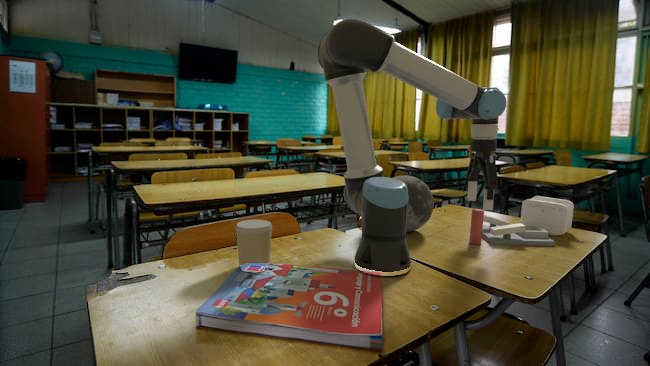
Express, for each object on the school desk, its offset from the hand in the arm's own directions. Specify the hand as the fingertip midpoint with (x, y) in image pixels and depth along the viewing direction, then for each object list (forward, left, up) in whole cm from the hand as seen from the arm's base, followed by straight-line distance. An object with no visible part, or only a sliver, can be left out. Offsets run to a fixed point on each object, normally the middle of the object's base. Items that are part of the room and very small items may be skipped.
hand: (479, 205), depth 122 cm
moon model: (-21, +13, -13) cm, 28 cm away
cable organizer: (+32, +17, -13) cm, 38 cm away
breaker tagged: (+11, +2, -9) cm, 14 cm away
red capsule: (0, 0, -13) cm, 13 cm away
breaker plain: (+11, +13, -8) cm, 19 cm away
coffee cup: (-67, -25, -13) cm, 73 cm away
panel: (+15, +8, -13) cm, 21 cm away
